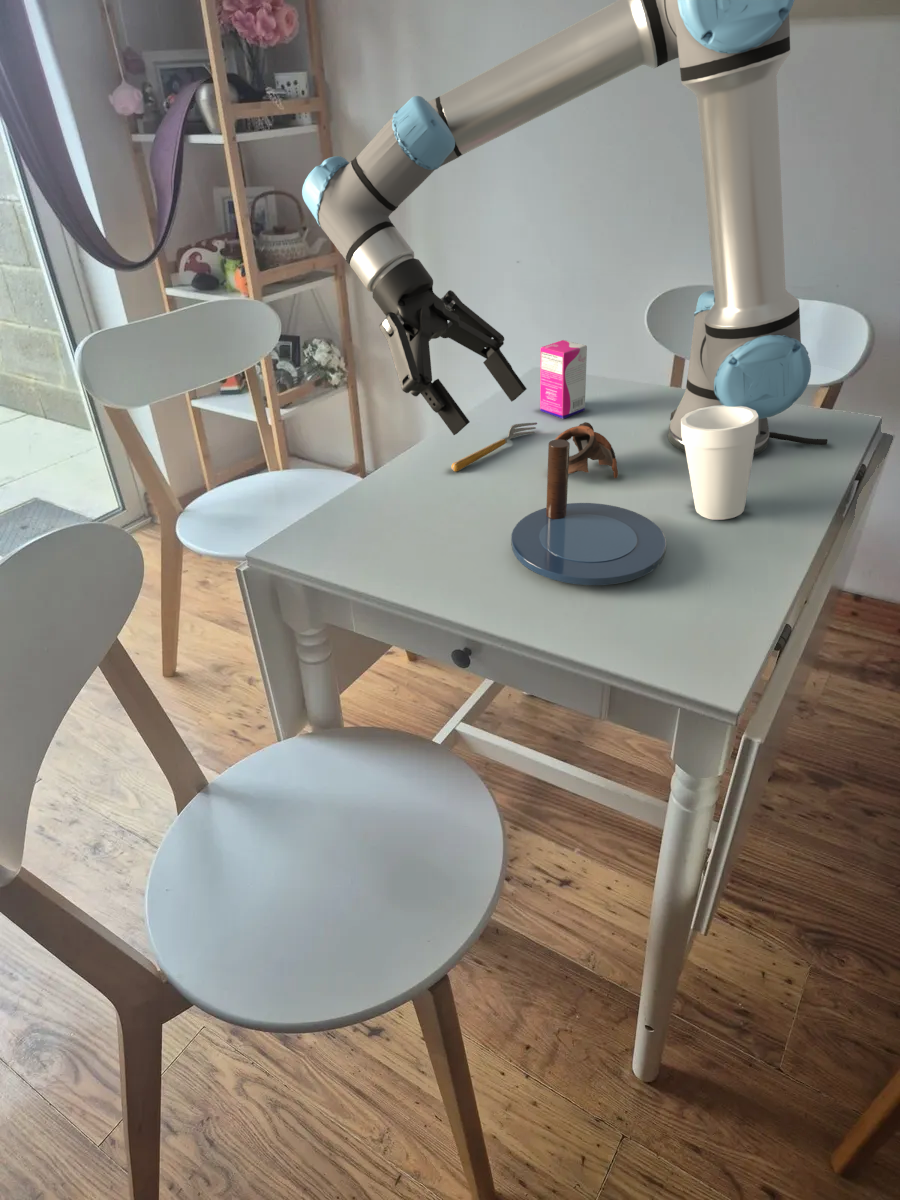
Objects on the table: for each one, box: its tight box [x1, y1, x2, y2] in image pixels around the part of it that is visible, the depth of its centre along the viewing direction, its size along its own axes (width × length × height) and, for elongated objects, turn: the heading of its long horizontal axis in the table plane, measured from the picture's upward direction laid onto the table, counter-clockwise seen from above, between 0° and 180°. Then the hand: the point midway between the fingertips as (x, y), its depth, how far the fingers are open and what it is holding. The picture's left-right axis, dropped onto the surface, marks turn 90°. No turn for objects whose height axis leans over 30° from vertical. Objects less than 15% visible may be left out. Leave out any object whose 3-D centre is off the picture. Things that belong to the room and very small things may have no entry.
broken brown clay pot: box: [554, 421, 619, 479], centre depth 121 cm, size 12×10×8 cm
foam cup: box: [681, 405, 759, 521], centre depth 107 cm, size 10×9×13 cm
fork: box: [451, 422, 538, 473], centre depth 129 cm, size 2×2×20 cm
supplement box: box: [539, 339, 588, 420], centre depth 140 cm, size 6×6×12 cm
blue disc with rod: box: [510, 439, 667, 586], centre depth 99 cm, size 19×19×11 cm
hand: (492, 411), depth 105 cm, fingers open, 13 cm apart
